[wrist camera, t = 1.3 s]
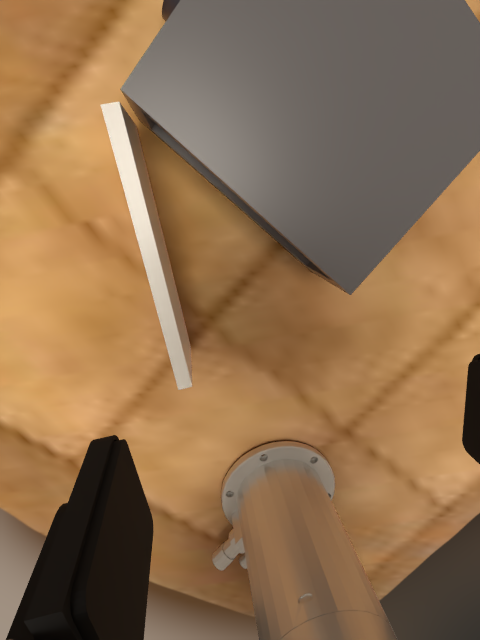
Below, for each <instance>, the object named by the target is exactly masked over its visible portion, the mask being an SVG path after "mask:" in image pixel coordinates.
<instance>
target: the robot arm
mask: <svg viewBox="0 0 480 640" xmlns="http://www.w3.org/2000/svg"><path fill="white" fill-rule="evenodd" d="M462 442H463V446H464V448H465V450H466V451H467V453H468V454H469V455H470V456H471V457H472V458H474V459H475V460H476V461H477V462H478V463H479V464H480V354H478V355H476V356H474V358H473V360H472V362H470V364H469V367H468V377H467V389H466V401H465V413H464V425H463V437H462ZM334 491H335V477H334V474H333V471H332V468H331V467H330V465H329V463H328V461H327V460H326V458H325V457H324V456H323V455H322V454H321V453H320V452H319V451H317V450H316V449H315V448H313V447H311V446H308V445H306V444H303V443H299V442H292V441H280V442H272V443H269V444H265V445H262V446H260V447H257V448H255V449H253V450H251V451H249V452H248V453H246V454H245V455H243V456H242V457H241V458H240V459H239V460H238V461H236V462H235V463H234V464H233V466H232V467H231V468H230V470H229V471H228V473H227V475H226V477H225V479H224V481H223V485H222V489H221V501H222V508H223V511H224V514H225V516H226V518H227V519H228V521H229V522H230V524H232V525H233V529H232V530H231V531H230V532H229V539H228V540H227V541H226V542H224V543H222V545H221V546H220V547H219V548H218V549H217V550H216V551H215V552H214V553H213V555H212V561H213V564H214V565H215V567H216V568H217V569H219V570H224V569H225V568H226V567H227V566H228V565H229V564H230V563H231V562H232V561H233V560H234V559H235V558H236V556H237V555H238V554H239V553H243V554H242V555H241V556H240V557H239V562H240V564H241V566H242V567H243V568H244V569H247V570H248V576H249V582H250V588H251V594H252V600H253V606H254V612H255V618H256V624H257V630H258V636H259V640H397V638H396V636H395V634H394V631H393V629H392V627H391V625H390V623H389V621H388V619H387V617H386V615H385V612H384V610H383V608H382V606H381V604H380V602H379V600H378V598H377V596H376V594H375V592H374V589H373V587H372V585H371V583H370V581H369V579H368V577H367V575H366V573H365V571H364V568H363V566H362V564H361V562H360V560H359V558H358V556H357V554H356V552H355V550H354V548H353V545H352V543H351V541H350V539H349V537H348V535H347V533H346V531H345V529H344V527H343V525H342V522H341V520H340V518H339V516H338V514H337V512H336V510H335V508H334V506H333V504H332V502H331V501H332V498H333V495H334ZM152 541H153V519H152V515H151V512H150V509H149V506H148V503H147V500H146V497H145V494H144V491H143V488H142V485H141V482H140V479H139V476H138V474H137V471H136V468H135V465H134V462H133V459H132V456H131V453H130V450H129V447H128V444H127V442H126V440H125V439H123V440H119V439H118V437H117V436H116V435H113V436H109V437H104V438H100V439H95V440H93V441H91V443H90V445H89V448H88V450H87V453H86V456H85V458H84V461H83V464H82V467H81V469H80V472H79V475H78V477H77V480H76V483H75V485H74V488H73V491H72V493H71V496H70V499H69V501H68V503H65V504H63V505H61V506H60V507H59V509H58V511H57V513H56V515H55V517H54V520H53V522H52V525H51V527H50V530H49V532H48V535H47V538H46V540H45V543H44V545H43V548H42V550H41V553H40V555H39V558H38V560H37V563H36V565H35V568H34V570H33V573H32V575H31V578H30V580H29V583H28V585H27V588H26V590H25V593H24V596H23V598H22V600H21V603H20V606H19V608H18V610H17V613H16V616H15V618H14V621H13V623H12V626H11V628H10V631H9V633H8V636H7V638H6V640H143V639H144V628H145V617H146V606H147V595H148V584H149V573H150V562H151V552H152Z"/></svg>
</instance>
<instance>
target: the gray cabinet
mask: <svg viewBox="0 0 480 640" xmlns="http://www.w3.org/2000/svg"><path fill="white" fill-rule="evenodd" d="M162 17H163V19H164V20H165V21H166V22H165V24H164V25H163V27H162V28H161V30H160V31H159V33H158V34H157V36H156V37H155V39H154V40H153V42H152V43H151V45H150V46H149V48H148V49H147V51H146V52H145V53H144V55H143V56H142V58H141V59H140V61H139V62H138V64H137V65H136V67H135V68H134V70H133V71H132V73H131V74H130V76H129V77H128V79H127V80H126V82H125V83H124V85H123V86H122V88H121V91H122V93H123V94H124V96H125V98H126V99H127V101H128V103H129V104H130V106H131V108H132V109H133V111H134V112H135V114H136V116H137V117H138V119H139V120H140V121H141V122H142V123H143V124H144V125H145V126H147V127H148V128H149V129H150V130H151V131H152V132H153V133H154V134H156V135H157V136H158V137H159V138H160V139H161V140H162V141H164V142H165V143H166V144H167V145H168V146H169V147H170V148H172V149H173V150H174V151H175V152H176V153H177V154H178V155H179V156H181V157H182V158H183V159H184V160H185V161H186V162H187V163H189V164H190V165H191V166H192V167H193V168H194V169H195V170H197V171H198V172H199V173H200V174H201V175H202V176H203V177H204V178H206V179H207V180H208V181H209V182H210V183H211V184H212V185H214V186H215V187H216V188H217V189H218V190H219V191H220V192H222V193H223V194H224V195H225V196H226V197H227V198H228V199H229V200H231V201H232V202H233V203H234V204H235V205H236V206H237V207H239V208H240V209H241V210H242V211H243V212H244V213H245V214H247V215H248V216H249V217H250V218H251V219H252V220H253V221H254V222H256V223H257V224H258V225H259V226H260V227H261V228H262V229H264V230H265V231H266V232H267V233H268V234H269V235H270V236H272V237H273V238H274V239H275V240H276V241H277V242H278V243H279V244H281V245H282V246H283V247H284V248H285V249H286V250H287V251H289V252H290V253H291V254H292V255H293V256H294V257H295V258H297V259H298V260H299V261H300V262H301V263H302V264H303V265H304V266H306V267H307V268H308V269H309V270H310V271H311V272H313V273H314V274H316V275H318V276H319V277H321V278H323V279H324V280H326V281H328V282H329V283H331V284H333V285H334V286H336V287H338V288H339V289H341V290H343V291H344V292H346V293H348V294H349V295H351V294H352V293H353V292H354V291H355V290H356V288H357V287H358V286H359V285H360V284H361V283H362V282H363V281H364V280H365V278H366V277H367V276H368V275H369V274H370V273H371V272H372V271H373V269H374V268H375V267H376V266H377V265H378V264H379V263H380V262H381V261H382V259H383V258H384V257H385V256H386V255H387V254H388V253H389V252H390V250H391V249H392V248H393V247H394V246H395V245H396V244H397V243H398V242H399V240H400V239H401V238H402V237H403V236H404V235H405V234H406V233H407V231H408V230H409V229H410V228H411V227H412V226H413V225H414V224H415V223H416V221H417V220H418V219H419V218H420V217H421V216H422V215H423V214H424V213H425V211H426V210H427V209H428V208H429V207H430V206H431V205H432V204H433V202H434V201H435V200H436V199H437V198H438V197H439V196H440V195H441V194H442V192H443V191H444V190H445V189H446V188H447V187H448V186H449V185H450V183H451V182H452V181H453V180H454V179H455V178H456V177H457V176H458V175H459V173H460V172H461V171H462V170H463V169H464V168H465V167H466V166H467V164H468V163H469V162H470V161H471V160H472V159H473V158H474V157H475V156H476V154H477V153H478V152H479V151H480V23H479V21H478V20H477V18H476V17H475V15H474V13H473V12H472V10H471V9H470V7H469V6H468V4H467V3H466V1H465V0H164V2H163V7H162Z"/></svg>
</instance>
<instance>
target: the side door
mask: <svg viewBox="0 0 480 640" xmlns="http://www.w3.org/2000/svg"><path fill="white" fill-rule="evenodd" d="M101 108H102V111H103V115H104V119H105V122H106V126H107V130H108V133H109V137H110V141H111V144H112V148H113V152H114V155H115V159H116V163H117V166H118V170H119V174H120V177H121V181H122V185H123V188H124V192H125V196H126V199H127V203H128V207H129V210H130V214H131V218H132V221H133V225H134V229H135V232H136V236H137V240H138V243H139V247H140V251H141V254H142V258H143V262H144V265H145V269H146V273H147V276H148V280H149V284H150V287H151V291H152V295H153V298H154V302H155V306H156V309H157V313H158V317H159V320H160V324H161V328H162V331H163V335H164V339H165V342H166V346H167V350H168V353H169V357H170V361H171V364H172V368H173V372H174V375H175V379H176V383H177V386H178V390H180V389H185V388H189V387H192V364H191V345H190V341H189V337H188V333H187V329H186V325H185V321H184V317H183V313H182V309H181V305H180V301H179V297H178V293H177V289H176V285H175V280H174V276H173V272H172V268H171V264H170V260H169V256H168V252H167V248H166V244H165V240H164V236H163V232H162V228H161V224H160V220H159V216H158V212H157V207H156V203H155V199H154V195H153V191H152V187H151V183H150V179H149V175H148V171H147V167H146V163H145V159H144V155H143V151H142V147H141V143H140V139H139V134H138V130H137V126H136V125H135V124H134V122H133V121H132V119H131V118H130V116H129V115H128V114H127V112H126V111H125V109H124V108H123V106H122V105H121V103H120V102H114V103H108V104H102V105H101Z"/></svg>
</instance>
